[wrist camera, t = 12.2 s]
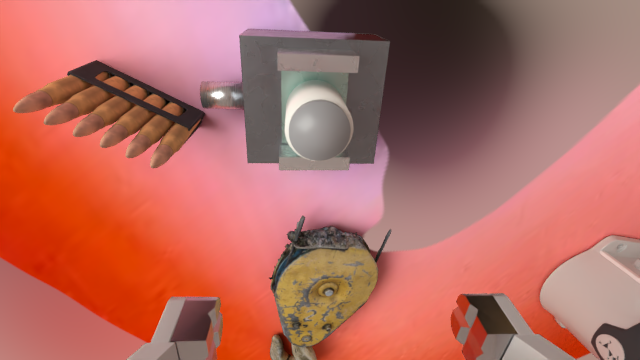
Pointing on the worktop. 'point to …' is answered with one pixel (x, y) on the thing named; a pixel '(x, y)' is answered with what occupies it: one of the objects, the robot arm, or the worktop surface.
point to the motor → (293, 69)
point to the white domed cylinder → (317, 121)
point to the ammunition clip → (117, 110)
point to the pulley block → (319, 286)
